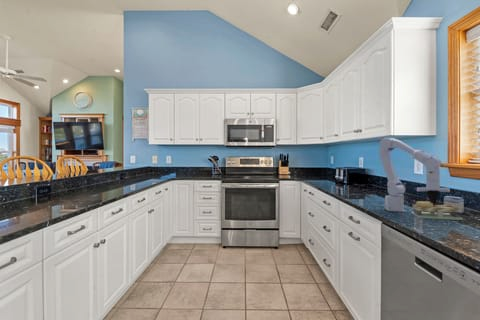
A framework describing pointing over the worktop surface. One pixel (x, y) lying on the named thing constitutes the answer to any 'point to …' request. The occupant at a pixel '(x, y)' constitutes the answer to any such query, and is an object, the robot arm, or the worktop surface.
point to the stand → (437, 215)
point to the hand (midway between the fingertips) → (432, 204)
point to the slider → (424, 204)
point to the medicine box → (454, 202)
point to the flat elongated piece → (438, 208)
